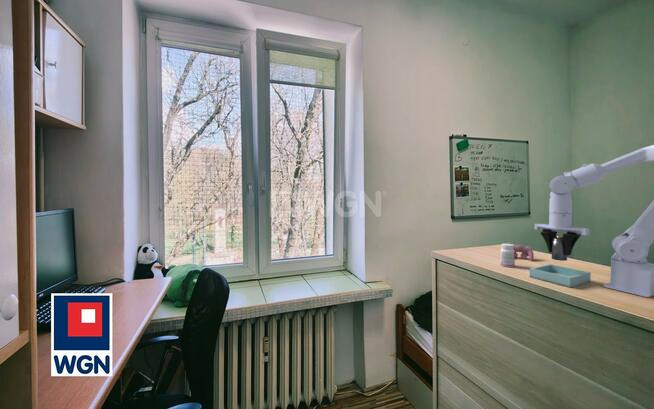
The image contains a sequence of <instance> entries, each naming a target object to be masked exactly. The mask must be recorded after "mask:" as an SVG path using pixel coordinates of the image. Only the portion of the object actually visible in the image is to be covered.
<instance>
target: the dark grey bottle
mask: <svg viewBox="0 0 654 409" xmlns="http://www.w3.org/2000/svg"><path fill="white" fill-rule="evenodd" d="M564 249H565V244H564V238H563V235H556V237H552V253H551V259H552V260H555V261H561V262H562V261H564V262H565V261H568V256H566V255H565V254H564Z"/></svg>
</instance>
